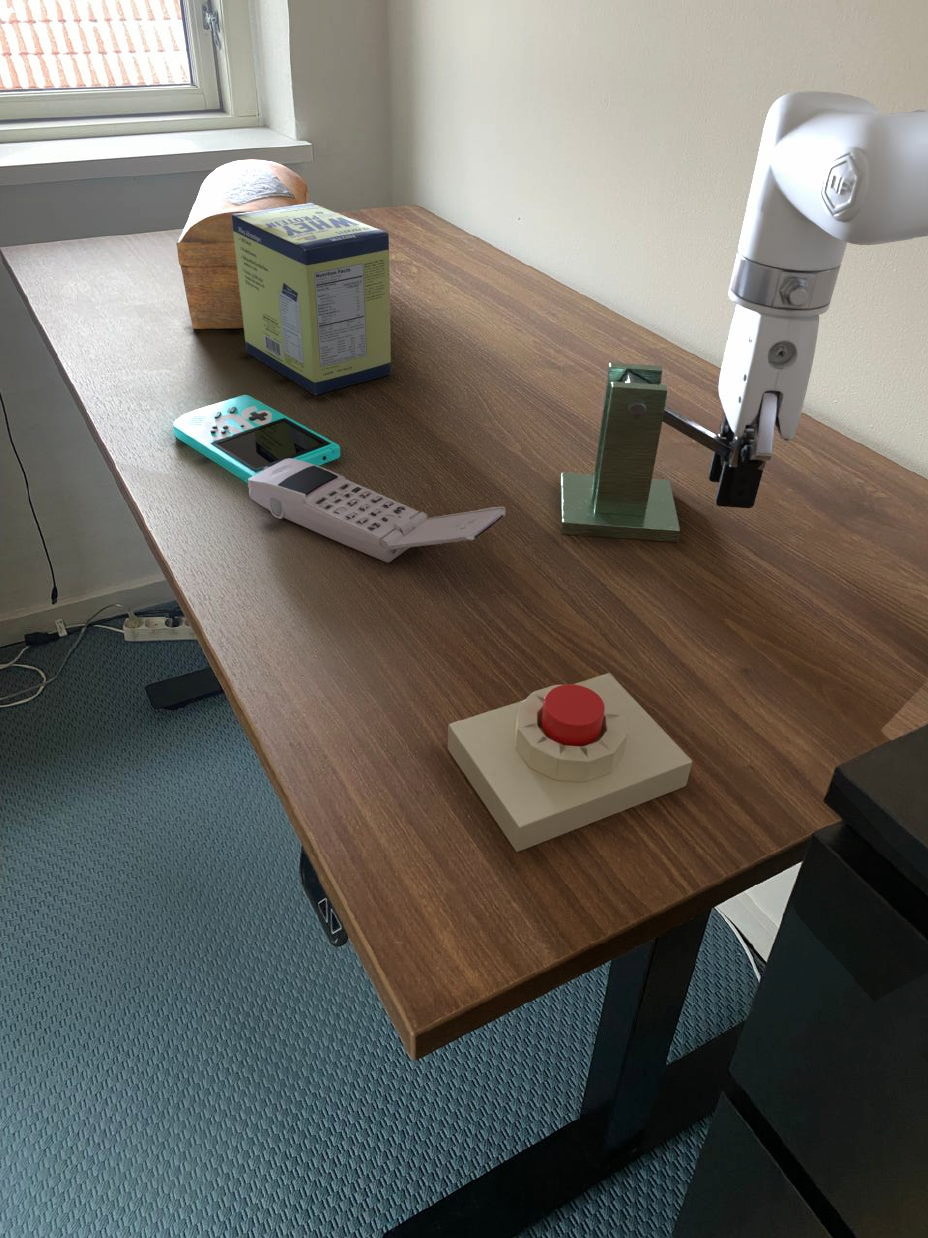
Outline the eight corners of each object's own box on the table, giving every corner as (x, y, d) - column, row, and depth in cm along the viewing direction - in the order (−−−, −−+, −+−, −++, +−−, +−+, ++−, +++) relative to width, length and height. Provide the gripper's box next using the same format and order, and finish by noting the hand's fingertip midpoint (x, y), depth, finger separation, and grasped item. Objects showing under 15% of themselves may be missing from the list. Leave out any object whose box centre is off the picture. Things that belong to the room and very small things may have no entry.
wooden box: (319, 329, 116) (313, 212, 107) (184, 330, 114) (167, 210, 106) (321, 258, 140) (316, 157, 131) (209, 257, 138) (197, 155, 129)
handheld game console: (249, 403, 98) (247, 391, 97) (344, 456, 90) (344, 443, 89) (164, 430, 93) (162, 417, 92) (258, 490, 84) (256, 477, 83)
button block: (605, 696, 63) (613, 651, 61) (686, 786, 57) (698, 740, 54) (447, 749, 59) (448, 702, 56) (516, 853, 52) (521, 805, 50)
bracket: (667, 490, 86) (693, 358, 79) (677, 542, 79) (707, 402, 71) (560, 483, 87) (575, 350, 79) (561, 534, 80) (577, 394, 72)
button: (580, 698, 57) (583, 677, 56) (612, 736, 55) (616, 714, 54) (530, 715, 56) (532, 694, 55) (561, 754, 54) (564, 732, 53)
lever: (740, 473, 82) (766, 443, 80) (747, 492, 79) (774, 462, 77) (607, 396, 78) (631, 362, 76) (609, 413, 76) (634, 379, 74)
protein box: (318, 334, 115) (310, 200, 105) (393, 375, 105) (392, 232, 96) (243, 352, 109) (228, 212, 100) (315, 397, 100) (306, 247, 90)
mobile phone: (469, 540, 68) (220, 437, 78) (464, 604, 71) (227, 498, 81) (511, 507, 72) (270, 413, 82) (504, 570, 75) (274, 473, 85)
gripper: (862, 323, 63) (792, 548, 74) (807, 251, 76) (755, 452, 87) (752, 316, 63) (699, 541, 75) (716, 246, 76) (676, 446, 88)
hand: (730, 491), depth 81 cm, fingers closed on lever, 3 cm apart
